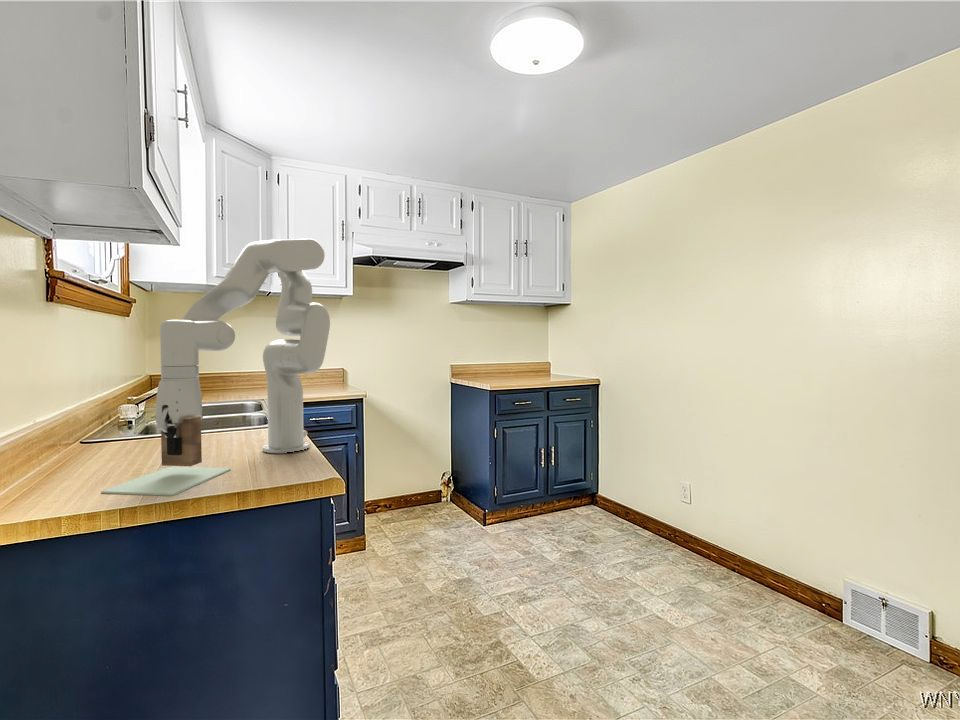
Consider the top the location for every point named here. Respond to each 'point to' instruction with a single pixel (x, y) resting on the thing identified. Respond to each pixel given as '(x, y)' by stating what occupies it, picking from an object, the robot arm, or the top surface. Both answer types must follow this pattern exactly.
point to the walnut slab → (185, 444)
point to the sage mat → (167, 481)
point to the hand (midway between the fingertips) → (181, 451)
